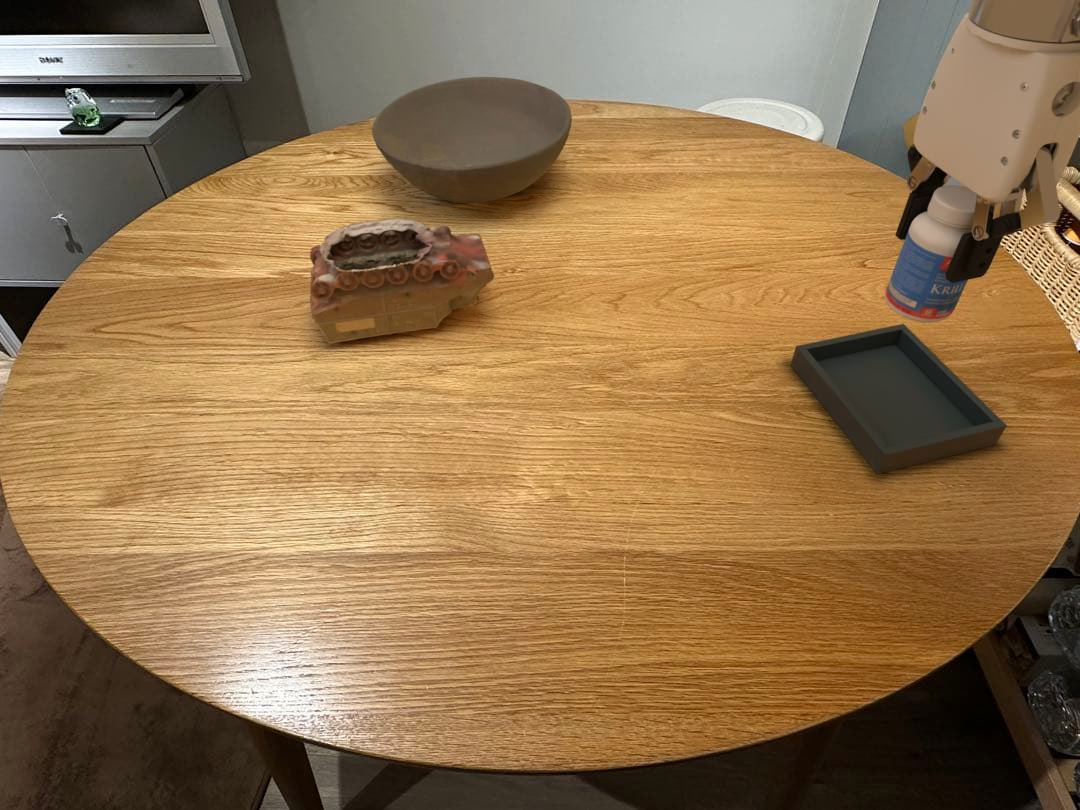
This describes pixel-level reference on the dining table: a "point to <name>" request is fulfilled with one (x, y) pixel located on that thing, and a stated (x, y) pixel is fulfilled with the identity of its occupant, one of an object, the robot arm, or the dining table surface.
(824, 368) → the tray
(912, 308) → the pill bottle
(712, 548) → the dining table surface
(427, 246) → the brown toy tank
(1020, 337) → the dining table surface
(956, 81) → the robot arm
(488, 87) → the bowl
